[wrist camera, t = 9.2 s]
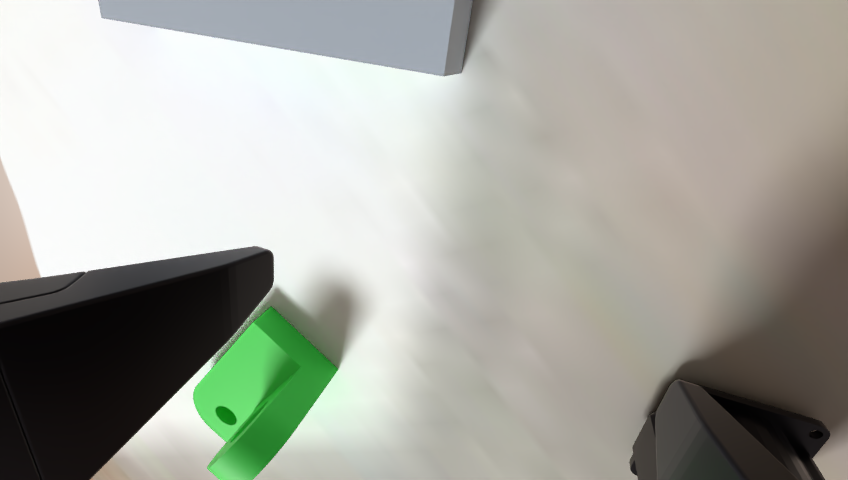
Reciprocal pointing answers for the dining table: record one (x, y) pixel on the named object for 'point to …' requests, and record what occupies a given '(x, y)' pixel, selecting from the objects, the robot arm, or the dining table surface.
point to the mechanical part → (260, 394)
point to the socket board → (321, 27)
